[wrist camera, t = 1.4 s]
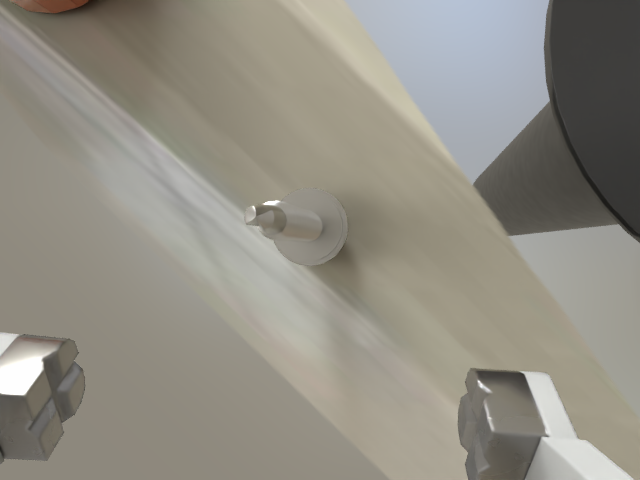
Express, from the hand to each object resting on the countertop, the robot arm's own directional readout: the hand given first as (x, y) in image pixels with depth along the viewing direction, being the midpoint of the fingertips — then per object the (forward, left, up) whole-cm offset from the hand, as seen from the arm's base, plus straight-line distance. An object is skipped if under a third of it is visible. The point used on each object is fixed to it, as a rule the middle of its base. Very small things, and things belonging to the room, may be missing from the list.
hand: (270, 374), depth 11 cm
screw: (0, -5, -23) cm, 24 cm away
